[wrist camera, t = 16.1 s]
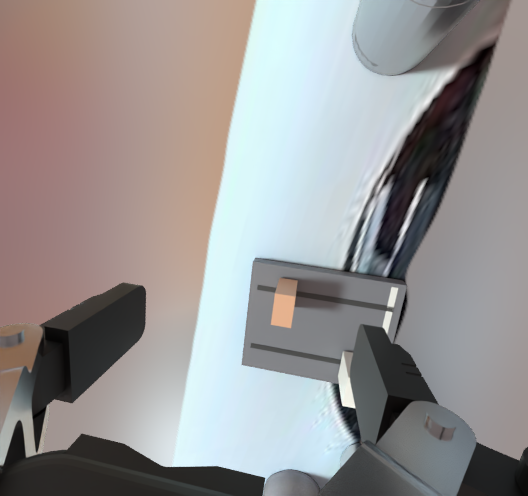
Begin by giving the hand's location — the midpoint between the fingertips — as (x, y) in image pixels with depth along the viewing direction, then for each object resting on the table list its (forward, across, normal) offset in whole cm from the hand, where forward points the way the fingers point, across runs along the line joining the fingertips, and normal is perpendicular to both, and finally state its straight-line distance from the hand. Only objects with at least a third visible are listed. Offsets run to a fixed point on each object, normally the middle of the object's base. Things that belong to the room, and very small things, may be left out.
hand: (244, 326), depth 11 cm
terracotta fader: (+28, -1, +10) cm, 29 cm away
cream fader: (+28, -11, +19) cm, 35 cm away
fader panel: (+30, -6, +14) cm, 34 cm away
